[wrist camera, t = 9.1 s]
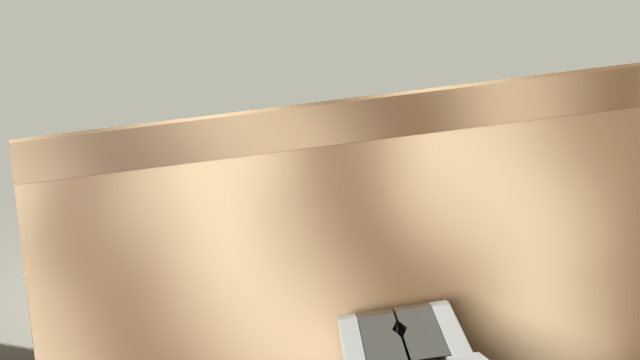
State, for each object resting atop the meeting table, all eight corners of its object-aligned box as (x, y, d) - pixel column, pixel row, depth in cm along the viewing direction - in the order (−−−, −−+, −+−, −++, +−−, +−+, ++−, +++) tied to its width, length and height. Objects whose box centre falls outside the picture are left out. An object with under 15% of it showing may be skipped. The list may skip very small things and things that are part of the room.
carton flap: (776, 490, 12) (756, 477, 12) (715, 53, 12) (697, 59, 12) (62, 598, 11) (73, 579, 12) (8, 139, 11) (21, 142, 12)
